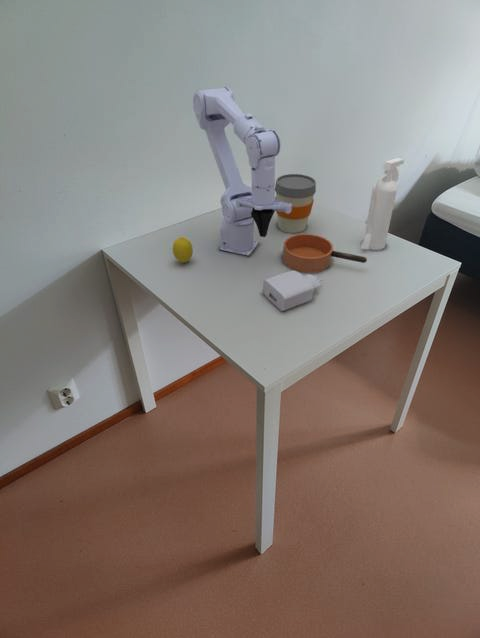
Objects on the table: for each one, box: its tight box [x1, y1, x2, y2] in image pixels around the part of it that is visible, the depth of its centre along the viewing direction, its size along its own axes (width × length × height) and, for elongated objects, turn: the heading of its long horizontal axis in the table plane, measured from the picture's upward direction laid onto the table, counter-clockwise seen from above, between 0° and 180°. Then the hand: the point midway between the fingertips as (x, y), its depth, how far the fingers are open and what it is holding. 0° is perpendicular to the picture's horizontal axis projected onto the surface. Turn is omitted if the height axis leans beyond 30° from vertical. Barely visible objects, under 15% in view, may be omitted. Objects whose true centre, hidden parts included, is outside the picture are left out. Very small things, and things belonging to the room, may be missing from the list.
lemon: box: [172, 236, 194, 263], centre depth 113 cm, size 6×6×8 cm
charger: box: [262, 269, 324, 312], centre depth 102 cm, size 5×9×15 cm
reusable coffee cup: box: [274, 173, 317, 234], centre depth 128 cm, size 13×13×15 cm
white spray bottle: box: [360, 157, 405, 251], centre depth 115 cm, size 7×12×25 cm, turn 131°
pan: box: [282, 233, 334, 273], centre depth 115 cm, size 14×14×4 cm
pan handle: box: [328, 250, 368, 264], centre depth 111 cm, size 11×2×2 cm, turn 67°
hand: (263, 235), depth 108 cm, fingers closed
